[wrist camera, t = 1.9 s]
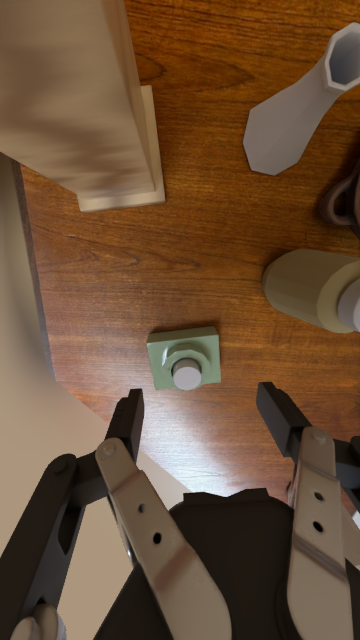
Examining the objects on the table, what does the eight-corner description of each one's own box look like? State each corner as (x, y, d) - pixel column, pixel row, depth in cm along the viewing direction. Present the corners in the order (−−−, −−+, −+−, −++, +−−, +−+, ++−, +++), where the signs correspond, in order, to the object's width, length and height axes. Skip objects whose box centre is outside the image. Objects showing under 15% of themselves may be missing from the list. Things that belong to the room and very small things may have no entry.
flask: (303, 171, 23) (392, 120, 14) (242, 181, 23) (291, 136, 14) (308, 90, 21) (421, -40, 11) (240, 101, 21) (298, -19, 11)
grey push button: (174, 381, 27) (175, 391, 26) (171, 359, 26) (171, 368, 24) (200, 378, 27) (202, 388, 26) (198, 356, 26) (200, 365, 24)
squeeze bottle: (241, 284, 28) (351, 342, 11) (283, 235, 26) (500, 210, 9) (279, 316, 30) (423, 406, 13) (321, 272, 28) (559, 311, 11)
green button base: (157, 376, 33) (154, 398, 28) (148, 333, 30) (144, 349, 25) (216, 369, 33) (223, 390, 28) (213, 325, 30) (221, 340, 25)
